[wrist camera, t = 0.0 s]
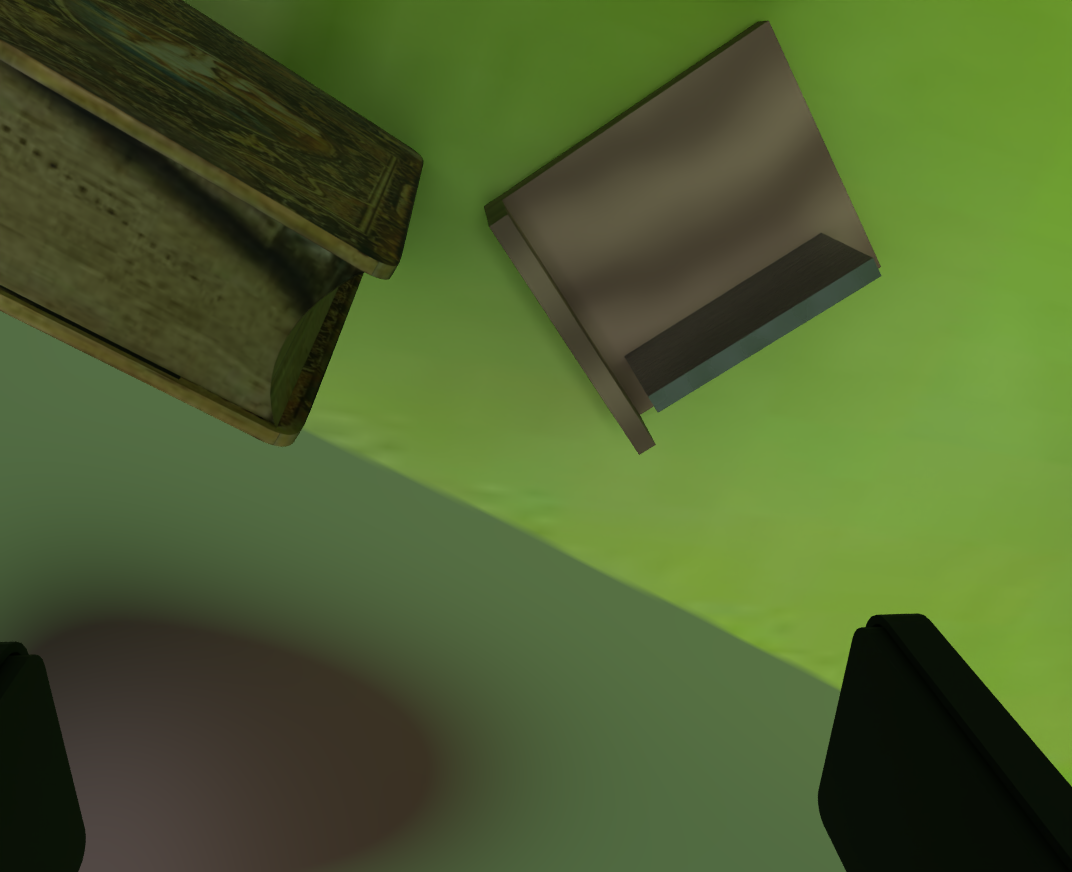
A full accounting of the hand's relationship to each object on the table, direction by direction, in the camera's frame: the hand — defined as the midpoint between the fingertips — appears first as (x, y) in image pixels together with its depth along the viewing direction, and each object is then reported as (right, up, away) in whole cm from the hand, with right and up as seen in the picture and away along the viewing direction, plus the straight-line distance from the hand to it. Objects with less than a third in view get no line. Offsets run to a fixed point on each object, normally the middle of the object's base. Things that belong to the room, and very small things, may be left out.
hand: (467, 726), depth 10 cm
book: (-13, +19, +31) cm, 39 cm away
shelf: (+9, +14, +36) cm, 39 cm away
